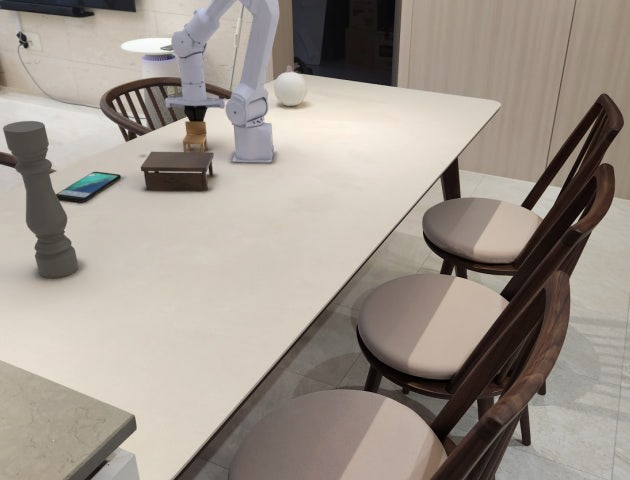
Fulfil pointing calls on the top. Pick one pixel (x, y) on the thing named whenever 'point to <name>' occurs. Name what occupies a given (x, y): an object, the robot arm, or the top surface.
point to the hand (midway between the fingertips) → (198, 135)
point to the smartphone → (87, 186)
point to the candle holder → (41, 199)
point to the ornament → (290, 88)
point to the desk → (177, 164)
